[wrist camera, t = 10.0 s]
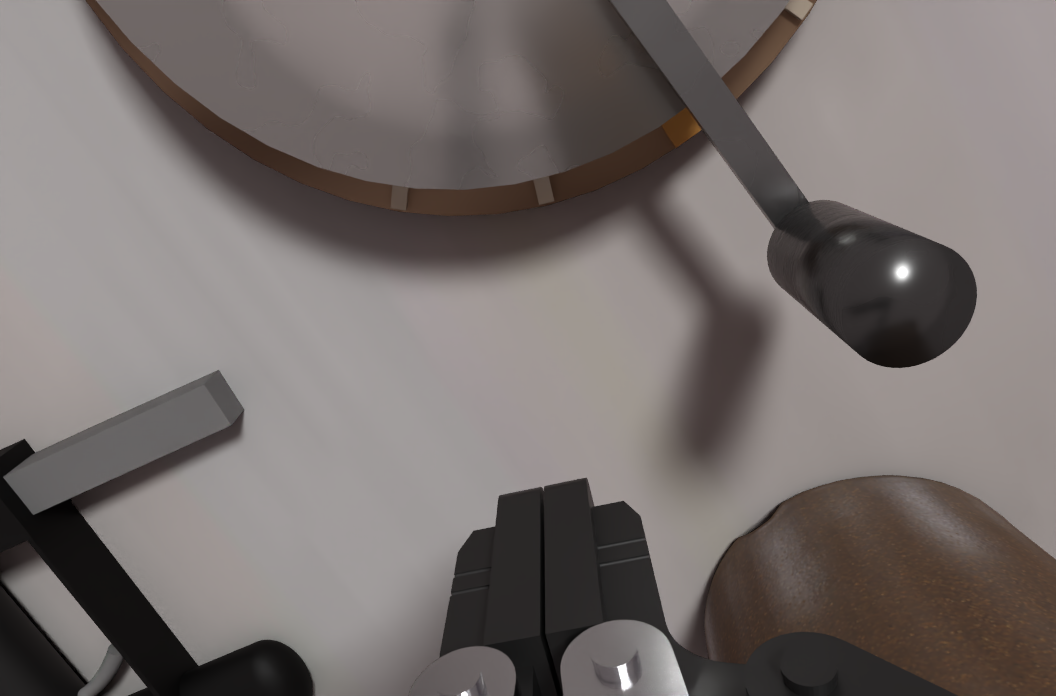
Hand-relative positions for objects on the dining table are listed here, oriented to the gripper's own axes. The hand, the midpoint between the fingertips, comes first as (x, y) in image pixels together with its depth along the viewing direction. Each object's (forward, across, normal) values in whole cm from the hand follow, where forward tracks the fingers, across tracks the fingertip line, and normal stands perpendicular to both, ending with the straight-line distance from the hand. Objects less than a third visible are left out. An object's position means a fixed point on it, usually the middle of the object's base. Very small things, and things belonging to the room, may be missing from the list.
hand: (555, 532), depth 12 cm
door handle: (+13, +18, +5) cm, 23 cm away
